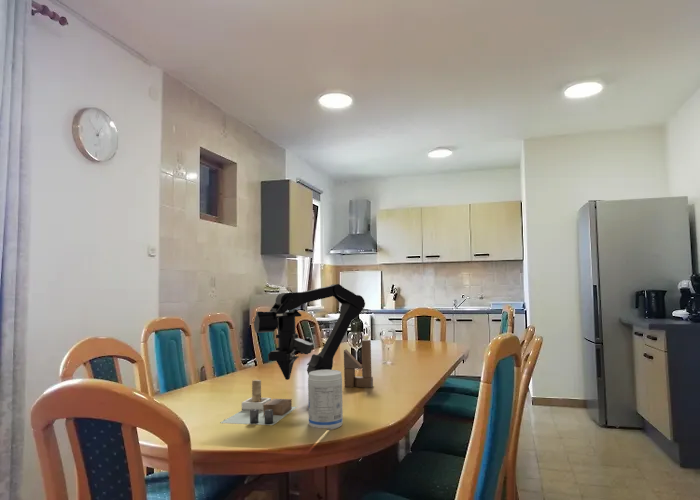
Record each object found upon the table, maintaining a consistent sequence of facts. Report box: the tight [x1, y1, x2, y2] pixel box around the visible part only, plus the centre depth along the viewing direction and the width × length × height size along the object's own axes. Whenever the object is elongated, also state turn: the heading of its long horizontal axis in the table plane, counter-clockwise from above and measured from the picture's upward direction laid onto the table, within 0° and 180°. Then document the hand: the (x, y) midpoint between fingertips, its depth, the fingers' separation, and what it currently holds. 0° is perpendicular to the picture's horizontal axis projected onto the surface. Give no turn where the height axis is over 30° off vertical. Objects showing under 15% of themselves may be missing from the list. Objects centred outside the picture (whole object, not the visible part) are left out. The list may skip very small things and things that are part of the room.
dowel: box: [251, 379, 262, 402], centre depth 151 cm, size 3×3×8 cm
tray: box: [241, 396, 272, 411], centre depth 151 cm, size 7×7×2 cm
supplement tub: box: [307, 369, 344, 431], centre depth 133 cm, size 10×10×15 cm
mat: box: [220, 406, 298, 426], centre depth 143 cm, size 16×21×1 cm
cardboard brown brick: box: [264, 398, 293, 416], centre depth 146 cm, size 6×8×3 cm
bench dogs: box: [250, 409, 273, 425], centre depth 134 cm, size 7×2×4 cm, turn 77°
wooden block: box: [343, 339, 374, 389], centre depth 187 cm, size 4×11×18 cm, turn 75°
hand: (287, 379), depth 155 cm, fingers closed
